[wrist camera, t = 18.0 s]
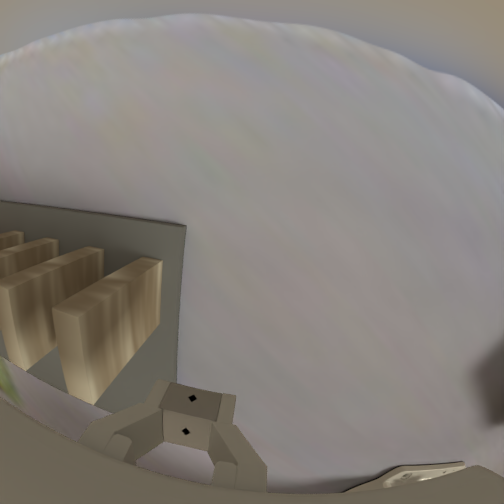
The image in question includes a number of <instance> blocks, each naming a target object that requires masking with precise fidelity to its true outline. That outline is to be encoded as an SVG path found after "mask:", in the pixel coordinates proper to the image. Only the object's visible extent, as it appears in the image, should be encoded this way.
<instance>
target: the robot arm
mask: <svg viewBox="0 0 504 504" xmlns="http://www.w3.org/2000/svg"><path fill="white" fill-rule="evenodd" d="M235 402H236V395H231V394H225V393H223V394H222V393H217V392H212V391H207V390H202V389H197V388H193V387H189V386H185V385H181V384H178V383H174V382H169V381H166V380H162V379H158V380H157V381H156V382H155V384H154V386H153V388H152V390H151V391H150V393H149V395H148V397H147V399H146V401H145V402H144V404H143V403H138V404H136V405H134V406H131V407H129V408H126V409H124V410H122V411H119V412H117V413H114V414H111V415H109V416H106V417H104V418H101V419H99V420H96V421H93V422H91V423H90V425H89V426H88V428H87V429H86V431H85V432H84V433H83V435H82V436H81V438H80V439H79V441H78V442H75V441H73V440H71V439H69V438H67V437H65V436H63V435H62V434H60V433H58V432H56V431H54V430H52V429H50V428H49V427H47V426H45V425H43V424H42V423H40V422H38V421H36V420H35V419H33V418H31V417H30V416H28V415H27V414H25V413H23V412H22V411H20V410H19V409H17V408H16V407H14V406H13V405H11V404H10V403H8V402H7V401H6V400H4V399H3V398H1V397H0V504H504V478H503V477H501V476H500V475H498V474H496V473H494V472H492V471H491V470H489V469H487V468H485V467H482V466H479V465H475V466H471V467H467V468H465V467H466V466H465V463H464V462H458V463H449V464H438V465H421V466H401V467H398V468H395V469H393V470H392V471H390V472H388V473H387V474H385V475H383V476H382V477H380V478H378V479H376V480H373V481H371V482H368V483H365V484H363V485H360V486H357V487H355V488H353V489H350V490H348V491H346V492H344V493H330V494H284V493H267V466H266V465H265V463H264V462H263V461H262V459H261V458H260V457H259V456H258V454H257V453H256V452H255V450H254V449H253V448H252V446H251V445H250V444H249V442H248V441H247V440H246V438H245V437H244V435H243V434H242V433H241V431H240V430H239V429H238V427H237V426H236V425H233V424H232V422H233V415H234V408H235ZM163 441H166V442H170V443H174V444H178V445H183V446H187V447H191V448H195V449H199V450H204V451H208V454H209V456H210V458H211V460H212V462H213V464H214V466H215V469H214V473H213V478H212V483H211V485H206V484H201V483H196V482H192V481H187V480H183V479H179V478H175V477H171V476H167V475H163V474H160V473H156V472H153V471H150V470H146V469H143V468H140V467H137V466H136V461H135V460H137V459H138V458H140V457H141V456H143V455H144V454H146V453H148V452H149V451H151V450H152V449H154V448H155V447H157V446H158V445H159V444H161V443H162V442H163Z"/></svg>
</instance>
